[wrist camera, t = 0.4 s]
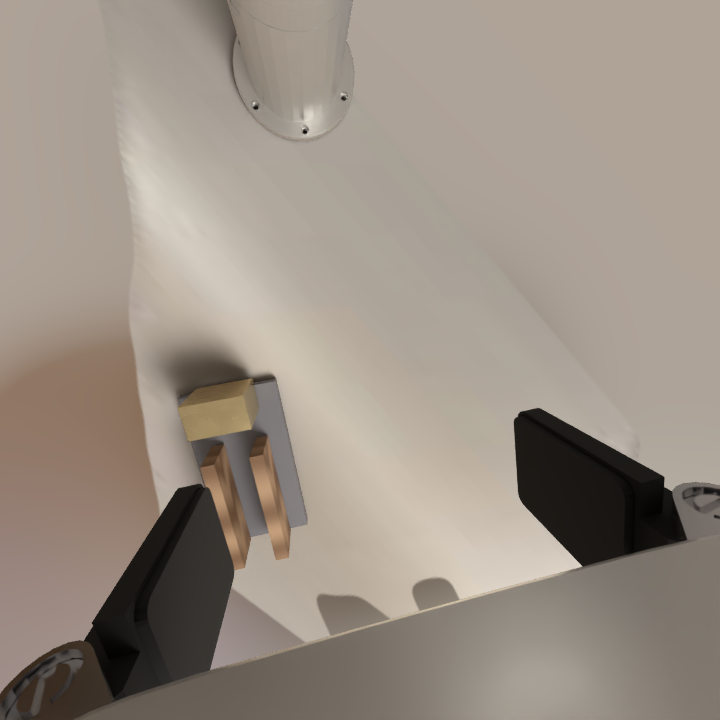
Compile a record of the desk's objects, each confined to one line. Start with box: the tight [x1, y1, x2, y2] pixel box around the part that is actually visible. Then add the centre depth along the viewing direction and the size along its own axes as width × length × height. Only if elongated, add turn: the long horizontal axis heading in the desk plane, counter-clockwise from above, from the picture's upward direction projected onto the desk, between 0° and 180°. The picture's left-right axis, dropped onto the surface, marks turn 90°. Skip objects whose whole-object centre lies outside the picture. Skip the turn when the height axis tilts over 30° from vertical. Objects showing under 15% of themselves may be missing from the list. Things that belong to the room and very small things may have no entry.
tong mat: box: [178, 379, 307, 537], centre depth 47 cm, size 22×12×1 cm, turn 9°
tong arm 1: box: [249, 435, 291, 560], centre depth 45 cm, size 15×2×5 cm, turn 9°
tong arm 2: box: [200, 444, 251, 570], centre depth 44 cm, size 15×2×5 cm, turn 9°
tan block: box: [178, 378, 259, 442], centre depth 40 cm, size 4×7×6 cm, turn 99°
